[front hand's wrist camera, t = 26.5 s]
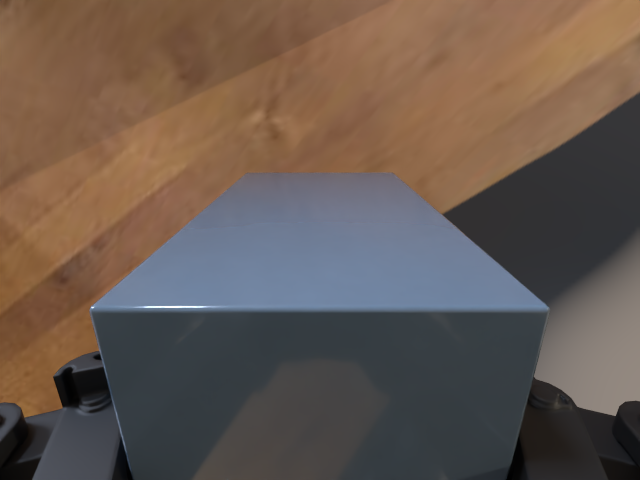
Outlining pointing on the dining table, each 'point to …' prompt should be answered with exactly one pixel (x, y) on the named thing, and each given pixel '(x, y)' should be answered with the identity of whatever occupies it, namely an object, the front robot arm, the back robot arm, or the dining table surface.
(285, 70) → the dining table surface
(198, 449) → the block
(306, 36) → the dining table surface
